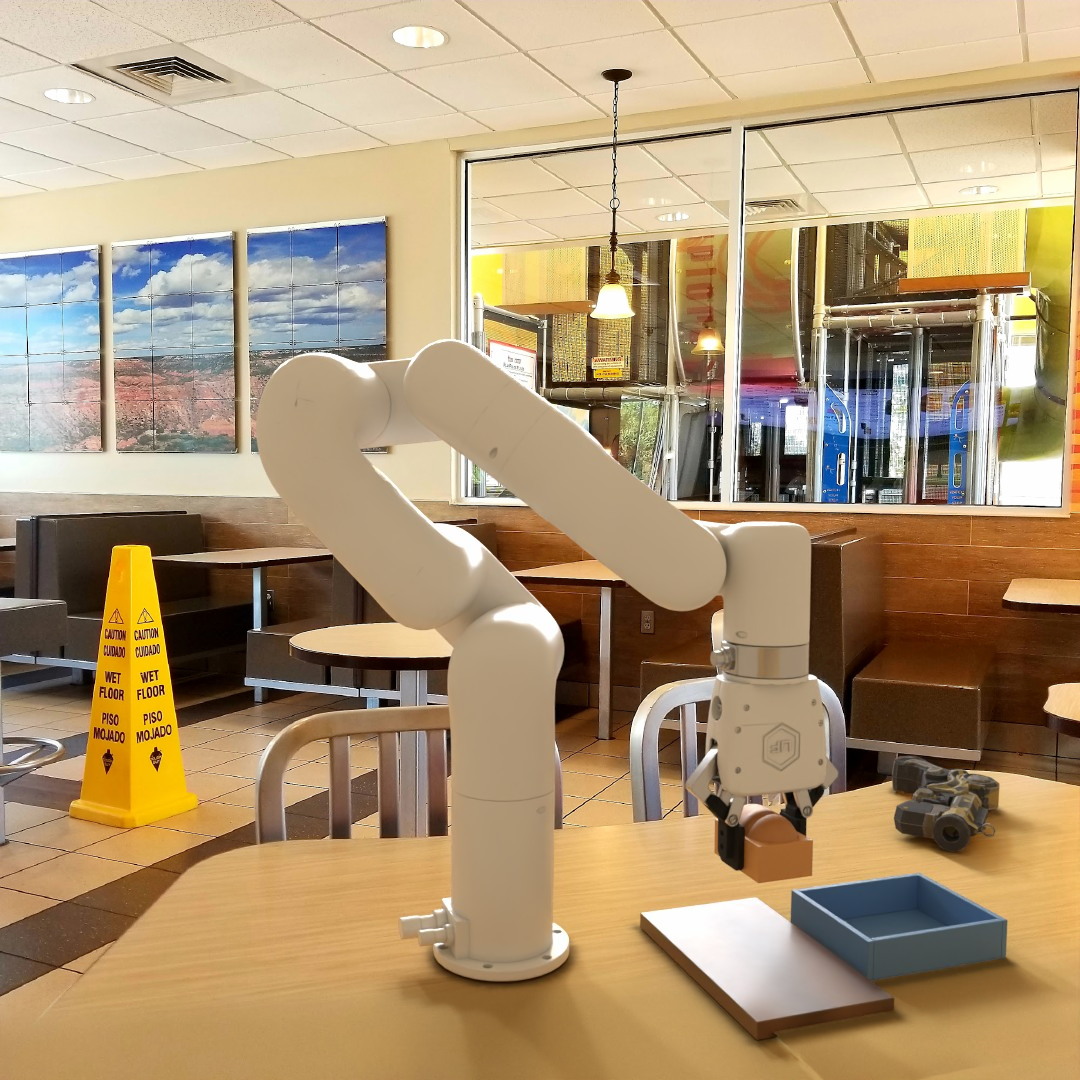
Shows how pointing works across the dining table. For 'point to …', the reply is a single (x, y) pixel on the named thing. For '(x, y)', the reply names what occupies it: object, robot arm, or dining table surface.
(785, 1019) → the board
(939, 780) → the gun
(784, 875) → the bread
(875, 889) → the bin
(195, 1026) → the dining table surface
